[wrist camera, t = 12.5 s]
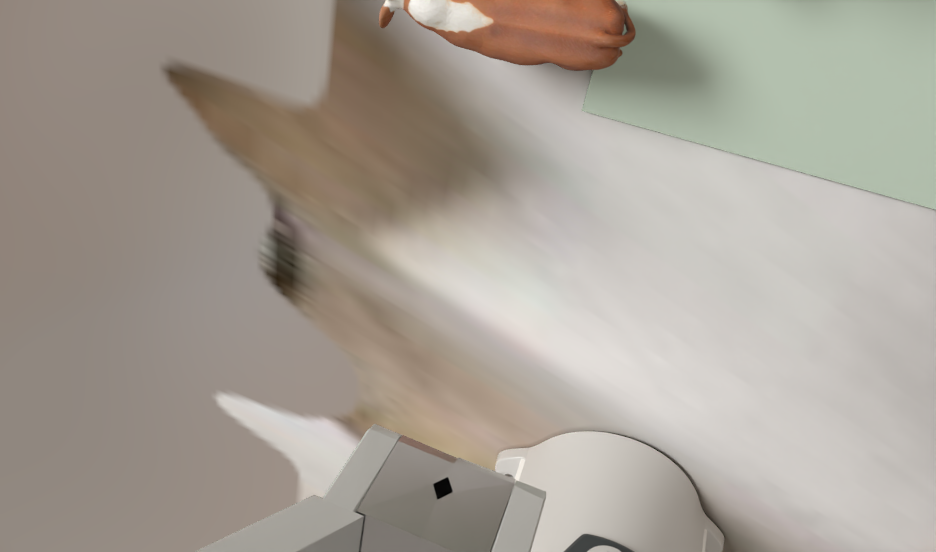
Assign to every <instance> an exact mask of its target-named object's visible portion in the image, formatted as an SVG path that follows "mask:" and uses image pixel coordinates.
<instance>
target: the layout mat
mask: <svg viewBox="0 0 936 552" xmlns="http://www.w3.org/2000/svg"><path fill="white" fill-rule="evenodd" d="M616 1H618V0H616ZM623 1H625V2H626V4H627V7H628V15H629V17H630V19H631V21H632V22H633V24H634V27H635V31H636V35H635V38H634V40H633V41H632V42H631V43H630V44H628V45H626V46H624V47H620V49H621V50H622V53H623V54H622V56H620V57H619V58H618V59H617V61H616V62H615V63H614V64H613V65H611V66H609V67H607V68H604V69H599V70H593V72H592V76H591V79H590V83H589V86H588V90H587V94H586V97H585V101H584V104H583V108H582V111H584V112H588V113H592V114H595V115H599V116H602V117H606V118H609V119H613V120H617V121H620V122H624V123H627V124H631V125H634V126H638V127H642V128H645V129H649V130H652V131H656V132H659V133H663V134H667V135H670V136H674V137H677V138H681V139H685V140H688V141H692V142H695V143H699V144H702V145H706V146H710V147H713V148H717V149H720V150H724V151H727V152H731V153H735V154H738V155H742V156H745V157H749V158H752V159H756V160H760V161H763V162H767V163H770V164H774V165H778V166H781V167H785V168H788V169H792V170H795V171H799V172H803V173H806V174H810V175H813V176H817V177H820V178H824V179H828V180H831V181H835V182H838V183H842V184H845V185H849V186H853V187H856V188H860V189H863V190H867V191H871V192H874V193H878V194H881V195H885V196H888V197H892V198H896V199H899V200H903V201H906V202H910V203H913V204H917V205H921V206H924V207H928V208H931V209H935V210H936V0H623ZM626 32H627V30H626V26H625V24H624V31H623V33H622V35H624V34H625V33H626Z"/></svg>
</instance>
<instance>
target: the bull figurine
mask: <svg viewBox="0 0 936 552" xmlns="http://www.w3.org/2000/svg"><path fill="white" fill-rule="evenodd" d="M396 9H403V10H405V11H406V12H407V13H408V14H409V15H410V16H411V17H412V18H413V19H414V20H415V21H416V22H417V23H418V24H420V25H421V26H423V27H425V28H427V29H429V30H432V31H434V32H436V33H437V34H439V35H440V36H442V37H443V38H445V39H446V40H447V41H449V42H450V43H452V44H453V45H455V46H458V47H461V48H465V49H469V50H473V51H476V52H478V53H480V54H482V55H485V56H487V57H491V58H495V59H499V60H503V61H507V62H510V63H514V64H518V65H538V64H543V63H553V64H556V65H558V66H560V67H562V68H564V69H567V70H574V71H580V70H599V69H604V68H607V67H609V66H611V65H613V64H614V63H615V62H616V61H617V59H618V58H619V57H620V56H622V54H623V53H622V50H621V49H620V47H624V46H626V45H628V44H630V43H631V42H632V41H633V40H634V38H635V35H636V31H635V27H634V24H633V22H632V21H631V19H630V17H629V15H628V7H627V4H626V2H625V1H623V0H618V1H616V0H386V2H385V3H384V4H383V6H382V7H381V10H380V14H379V25H380V27H381V28H385V27H386V26H387V25H388V24H389V22H390V21H391V19H392V17H393V15H394V12H395V10H396ZM624 24H625V26H626V30H627V32H626V33H625V34H624V35H622V33H623V31H624Z"/></svg>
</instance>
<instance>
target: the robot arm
mask: <svg viewBox="0 0 936 552" xmlns="http://www.w3.org/2000/svg"><path fill="white" fill-rule="evenodd" d="M723 547H724V536H723V534H722V532H721V531H720V530H719V529H718V527H717V526H716V525H715V524H714V523H713V522H712V521H711V520H710V519H709V518H708V517H707V516H706V515H705V513H704V511H703V509H702V507H701V504H700V501H699V498H698V495H697V492H696V490H695V488H694V486H693V485H692V483H691V481H690V480H689V479H688V477H687V476H686V475H685V473H684V472H683V471H682V470H681V469H680V468H679V467H678V466H677V465H676V464H675V463H674V462H672V461H671V460H670V459H669V458H667V457H666V456H664V455H663V454H662V453H660V452H658V451H657V450H655V449H653V448H651V447H649V446H648V445H645V444H643V443H641V442H638V441H636V440H633V439H630V438H627V437H624V436H620V435H616V434H611V433H605V432H594V431H583V432H572V433H566V434H562V435H559V436H556V437H553V438H551V439H548V440H546V441H544V442H542V443H540V444H538V445H536V446H533V447H530V448H517V449H508V450H504V451H502V452H500V453H499V454H498V457H497V461H496V465H495V471H493V470H490V469H487V468H485V467H482V466H479V465H477V464H474V463H471V462H469V461H466V460H464V459H461V458H456V457H453V456H451V455H448V454H446V453H444V452H441V451H439V450H437V449H434V448H432V447H430V446H427V445H425V444H423V443H420V442H418V441H415V440H413V439H411V438H408V437H406V436H404V435H401V434H398V433H396V432H393V431H391V430H389V429H386V428H384V427H381V426H379V425H376V424H374V425H373V426H372V427H371V428H369V429H368V430H367V432H366V433H365V435H364V436H363V438H362V439H361V441H360V442H359V444H358V445H357V447H356V448H355V450H354V451H353V453H352V454H351V456H350V457H349V459H348V460H347V462H346V463H345V465H344V466H343V468H342V469H341V471H340V472H339V474H338V475H337V477H336V478H335V480H334V481H333V483H332V484H331V486H330V488H329V489H328V491H327V492H326V494H325V495H324V497H323V498H321V497H318V496H316V495H313V496H311V497H309V498H307V499H304V500H302V501H300V502H298V503H296V504H294V505H292V506H290V507H288V508H286V509H283V510H281V511H279V512H277V513H275V514H273V515H271V516H269V517H267V518H265V519H262V520H260V521H258V522H256V523H254V524H252V525H250V526H248V527H246V528H244V529H241V530H239V531H237V532H235V533H233V534H231V535H229V536H227V537H224V538H222V539H220V540H218V541H216V542H214V543H212V544H210V545H208V546H206V547H203V548H201V549H199V550H198V551H195V552H722V551H723Z"/></svg>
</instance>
